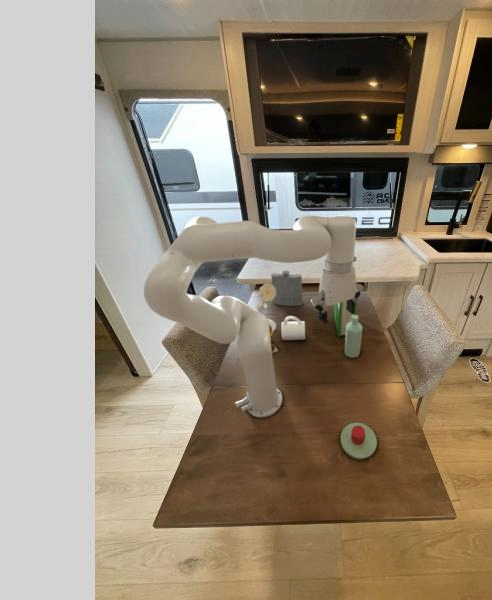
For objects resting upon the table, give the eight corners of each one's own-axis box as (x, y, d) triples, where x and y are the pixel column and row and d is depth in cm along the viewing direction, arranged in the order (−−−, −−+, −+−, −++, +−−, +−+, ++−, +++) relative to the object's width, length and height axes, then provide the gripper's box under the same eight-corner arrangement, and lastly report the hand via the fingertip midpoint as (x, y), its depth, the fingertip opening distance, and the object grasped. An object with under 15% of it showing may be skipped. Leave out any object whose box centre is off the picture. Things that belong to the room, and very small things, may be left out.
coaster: (354, 467, 75) (355, 465, 74) (333, 434, 83) (333, 432, 82) (384, 447, 79) (384, 445, 79) (361, 418, 88) (361, 416, 87)
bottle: (351, 359, 110) (354, 323, 100) (341, 350, 115) (343, 315, 105) (362, 353, 113) (367, 317, 103) (352, 345, 118) (355, 310, 108)
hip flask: (303, 302, 148) (301, 270, 137) (302, 306, 144) (300, 273, 134) (275, 301, 149) (271, 269, 138) (273, 305, 145) (269, 272, 135)
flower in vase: (253, 339, 121) (245, 292, 108) (251, 325, 130) (243, 280, 117) (281, 334, 124) (277, 288, 111) (278, 320, 133) (273, 276, 120)
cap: (364, 433, 82) (365, 426, 80) (364, 445, 79) (365, 439, 77) (351, 431, 83) (352, 424, 81) (350, 444, 79) (351, 437, 77)
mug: (305, 343, 119) (304, 321, 113) (282, 344, 119) (280, 322, 112) (305, 331, 126) (304, 310, 120) (283, 332, 125) (281, 311, 119)
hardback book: (353, 336, 123) (357, 292, 110) (338, 337, 122) (340, 292, 110) (348, 314, 138) (350, 273, 125) (334, 315, 137) (335, 273, 124)
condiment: (278, 350, 115) (276, 329, 108) (260, 358, 111) (256, 336, 105) (271, 341, 120) (268, 320, 114) (253, 348, 116) (249, 326, 110)
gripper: (356, 253, 77) (352, 302, 86) (304, 266, 70) (305, 318, 79) (373, 262, 71) (367, 314, 81) (318, 277, 64) (318, 332, 73)
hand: (337, 316), depth 80 cm, fingers open, 9 cm apart
